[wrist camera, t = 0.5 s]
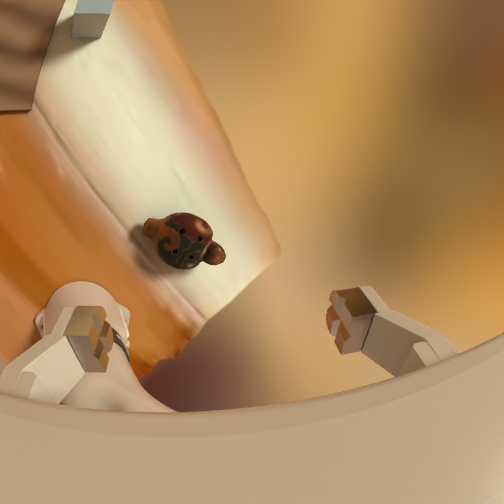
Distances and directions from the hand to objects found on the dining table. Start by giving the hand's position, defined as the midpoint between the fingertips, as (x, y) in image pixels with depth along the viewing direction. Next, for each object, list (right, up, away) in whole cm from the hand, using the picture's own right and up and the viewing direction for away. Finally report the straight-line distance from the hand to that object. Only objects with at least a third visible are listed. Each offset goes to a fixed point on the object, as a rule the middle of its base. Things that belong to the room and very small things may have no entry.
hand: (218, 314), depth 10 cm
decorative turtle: (-13, +5, +42) cm, 44 cm away
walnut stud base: (-38, +32, +11) cm, 51 cm away
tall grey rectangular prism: (-24, +37, +19) cm, 48 cm away
